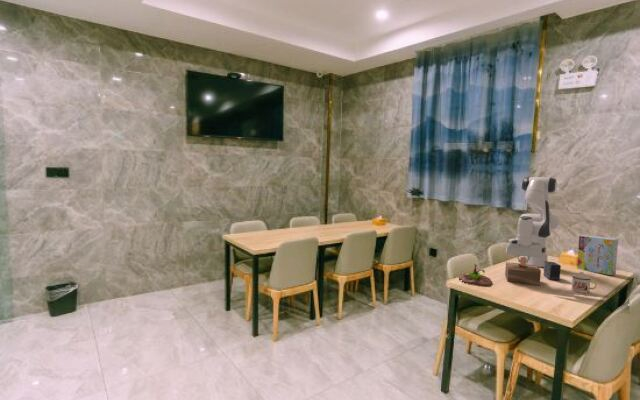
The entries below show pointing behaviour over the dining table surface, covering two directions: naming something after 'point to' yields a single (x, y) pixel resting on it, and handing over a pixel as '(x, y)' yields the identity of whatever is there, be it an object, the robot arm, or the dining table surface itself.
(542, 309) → the dining table surface
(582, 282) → the teacup with lid
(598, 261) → the snack box
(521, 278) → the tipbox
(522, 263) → the orange block
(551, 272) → the small box
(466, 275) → the plant
